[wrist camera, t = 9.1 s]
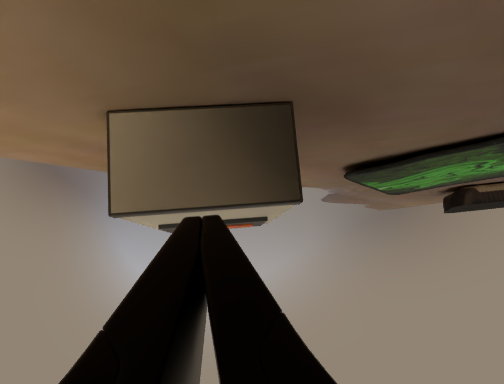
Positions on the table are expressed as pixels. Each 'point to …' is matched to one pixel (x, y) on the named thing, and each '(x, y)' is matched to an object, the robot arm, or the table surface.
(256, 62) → the table surface
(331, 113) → the table surface
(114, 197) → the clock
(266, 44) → the table surface
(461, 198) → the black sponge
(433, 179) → the mouse mat
